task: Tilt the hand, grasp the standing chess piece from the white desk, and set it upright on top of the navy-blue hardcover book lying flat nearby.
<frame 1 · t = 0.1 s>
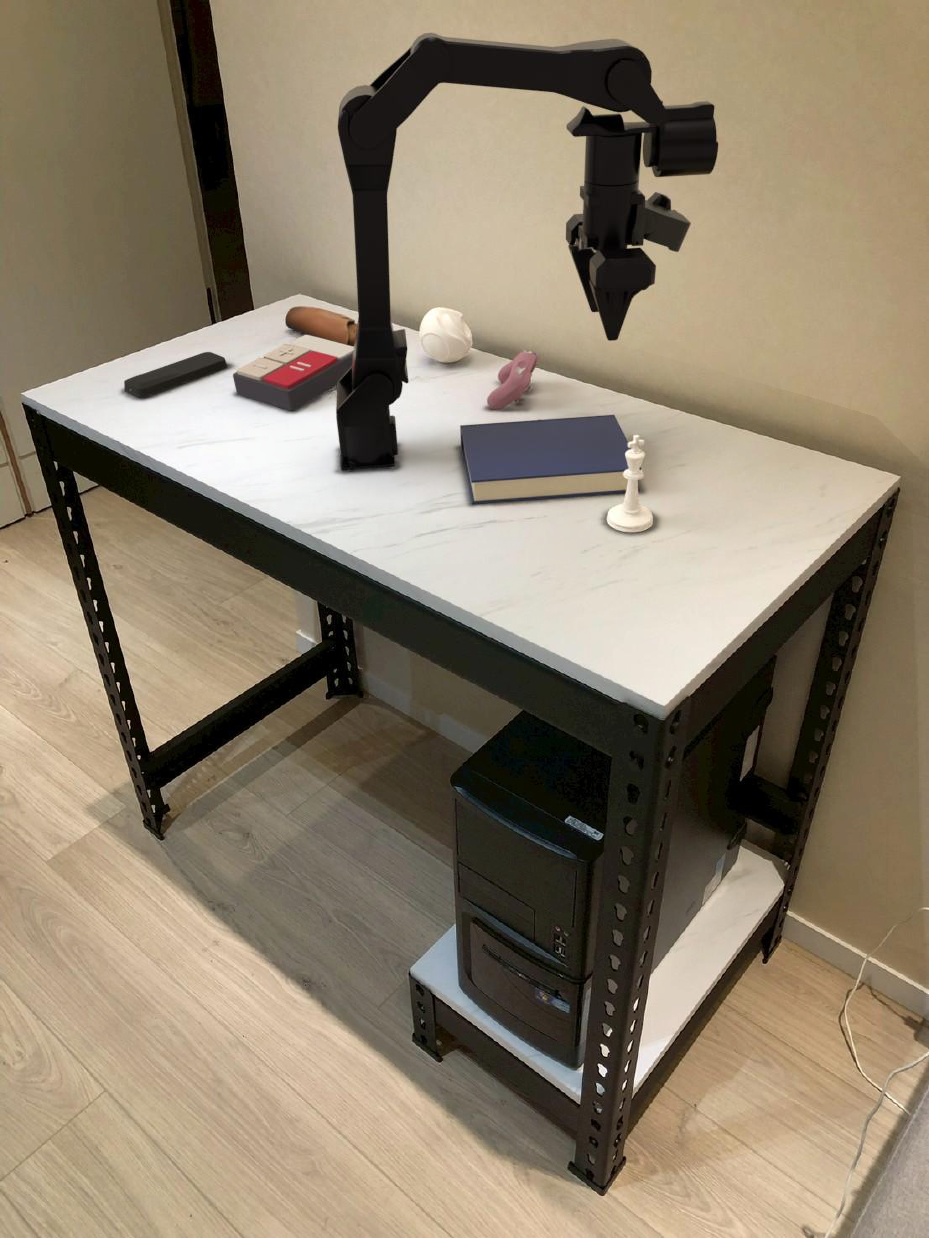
hand: (603, 325, 112), 15 cm above the table, tool pointing down, fingers open, 9 cm apart
white ball: (447, 362, 143), on the table
blue book: (546, 468, 116), on the table
remote control: (177, 379, 141), on the table
calculator: (301, 385, 138), on the table
chess piece: (629, 522, 106), on the table
video game controller: (514, 397, 133), on the table
sunglasses case: (338, 341, 151), on the table
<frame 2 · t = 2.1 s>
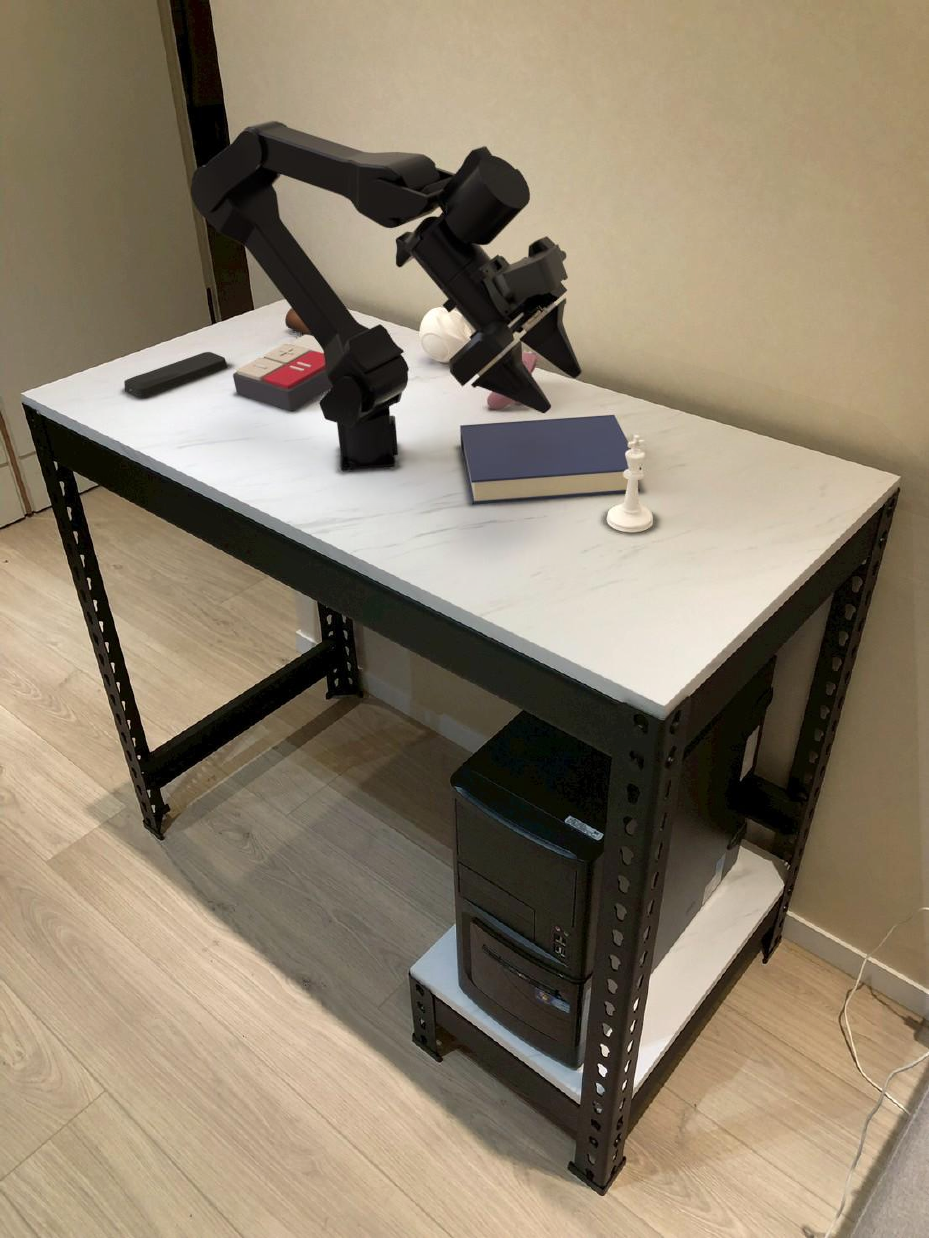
hand: (563, 392, 101), 13 cm above the table, tool tilted 45°, fingers open, 9 cm apart
nothing on the table moved.
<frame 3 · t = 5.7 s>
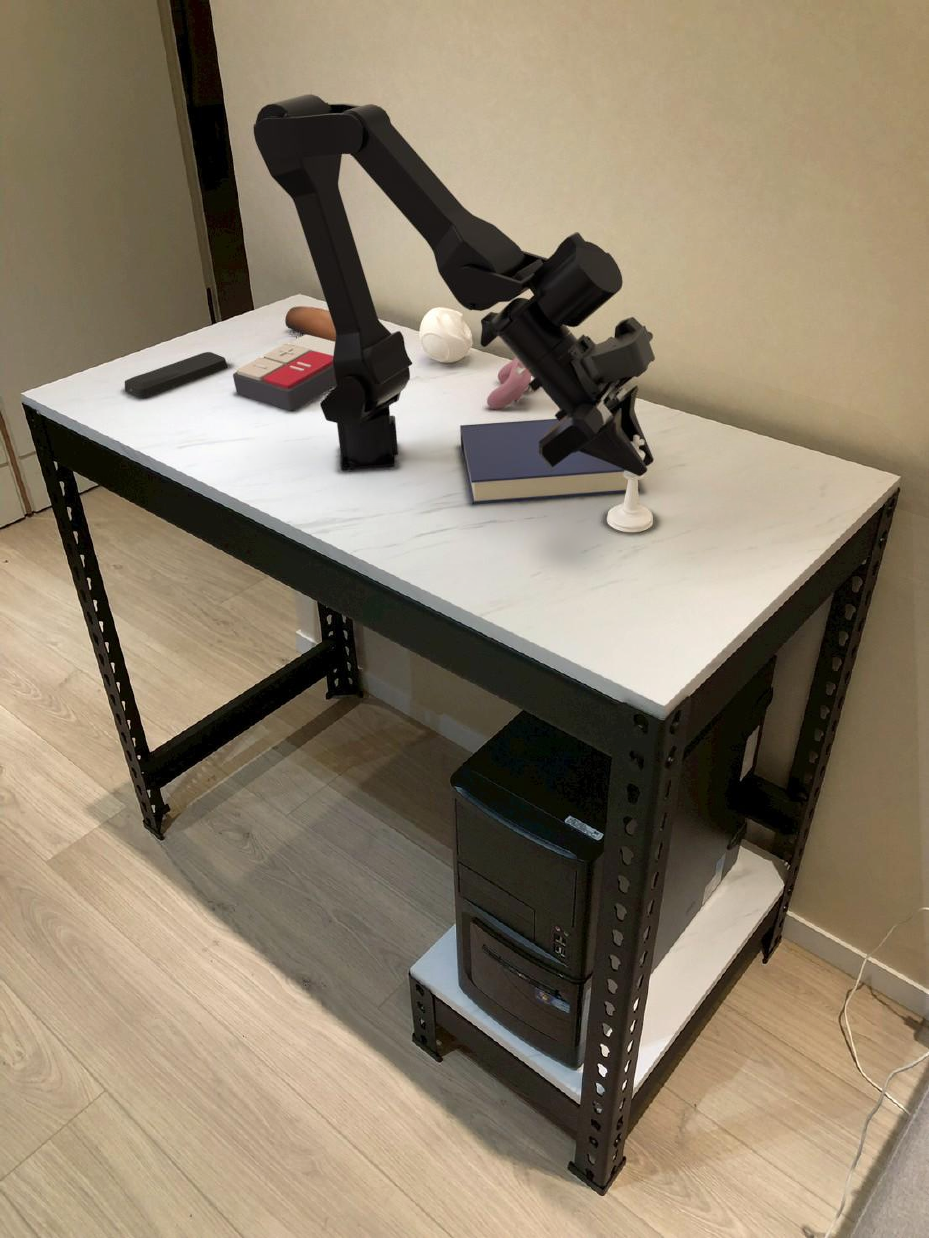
hand: (647, 468, 101), 7 cm above the table, tool tilted 45°, fingers closed on chess piece
chess piece: (629, 522, 106), on the table, touching gripper
everything else where it was.
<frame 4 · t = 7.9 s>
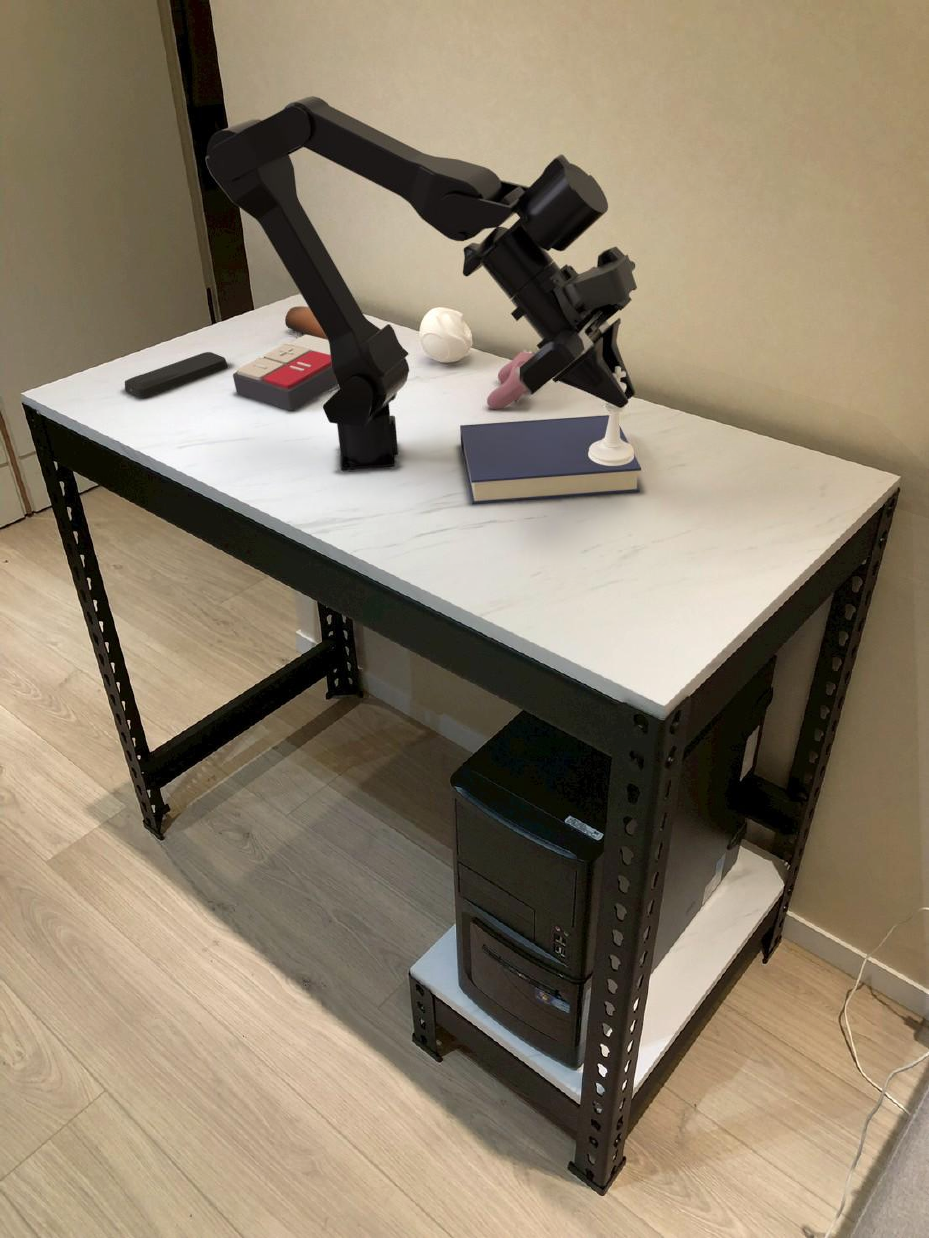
hand: (628, 401, 102), 12 cm above the table, tool tilted 45°, fingers closed on chess piece
chess piece: (610, 457, 106), point 5 cm above the table, touching gripper
everything else where it was.
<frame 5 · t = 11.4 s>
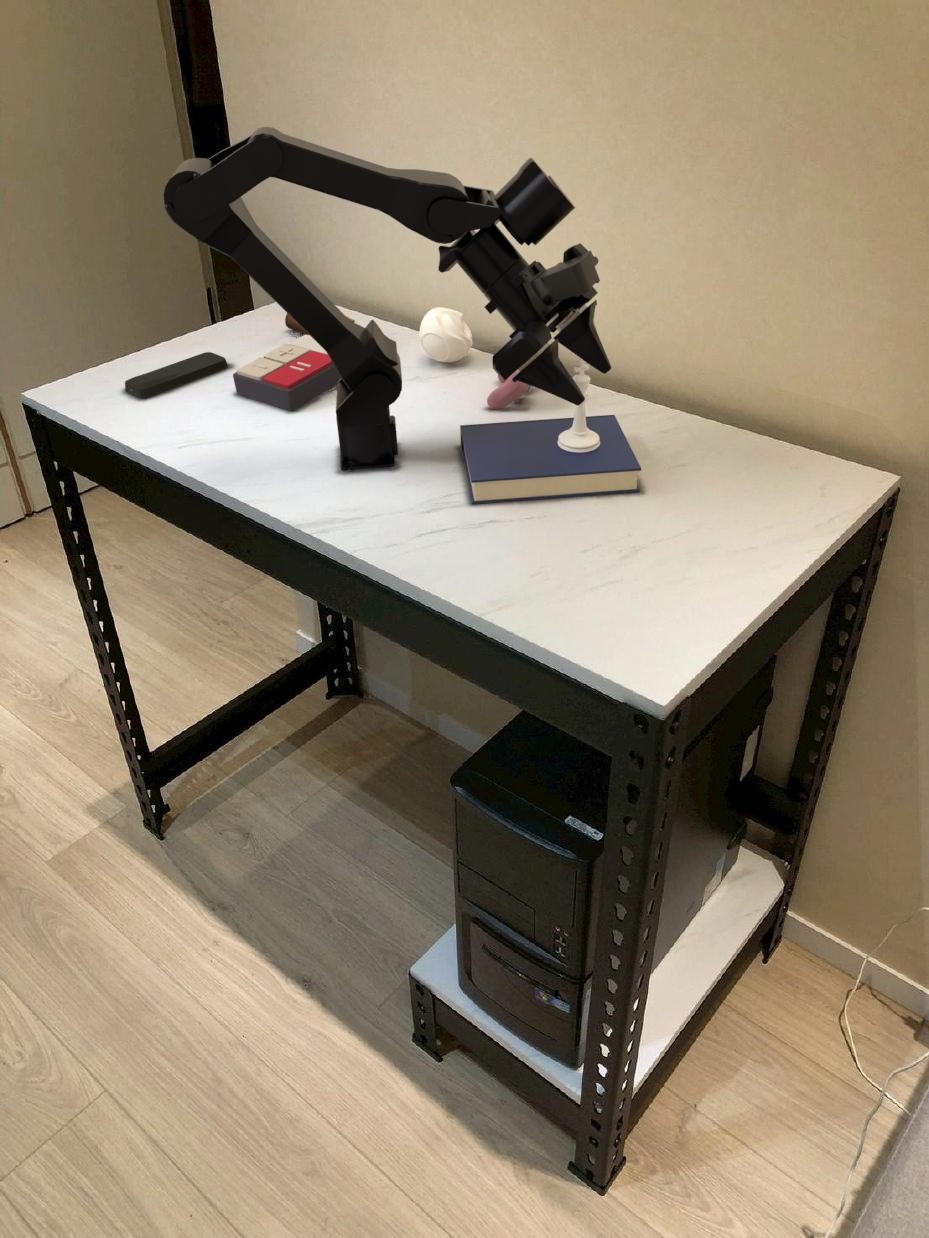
hand: (595, 386, 109), 10 cm above the table, tool tilted 45°, fingers open, 9 cm apart
chess piece: (578, 444, 114), point 3 cm above the table, touching blue book
everything else where it was.
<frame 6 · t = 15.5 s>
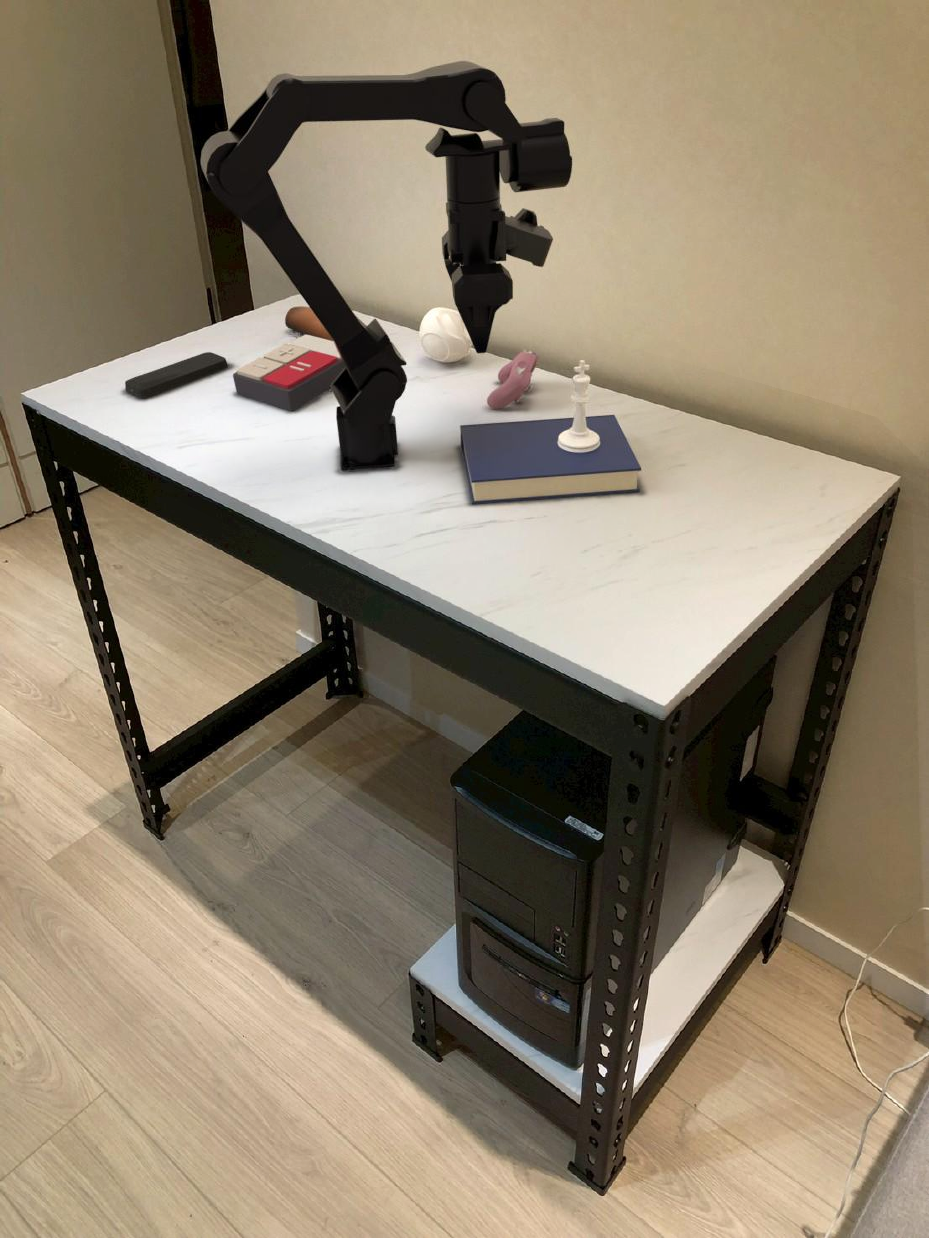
hand: (477, 338, 115), 13 cm above the table, tool pointing down, fingers open, 9 cm apart
nothing on the table moved.
at the end: chess piece inside the target area on the blue book (3.8 cm from its centre), point 2.8 cm above the blue book's base; chess piece tilted 0°; the gripper is holding nothing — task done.
